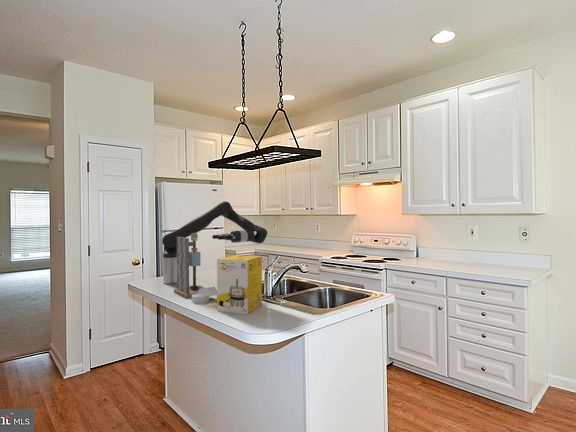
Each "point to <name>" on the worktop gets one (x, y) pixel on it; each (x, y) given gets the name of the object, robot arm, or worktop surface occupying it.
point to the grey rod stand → (185, 267)
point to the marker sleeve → (194, 258)
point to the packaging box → (239, 284)
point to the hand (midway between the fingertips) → (215, 237)
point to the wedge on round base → (203, 295)
